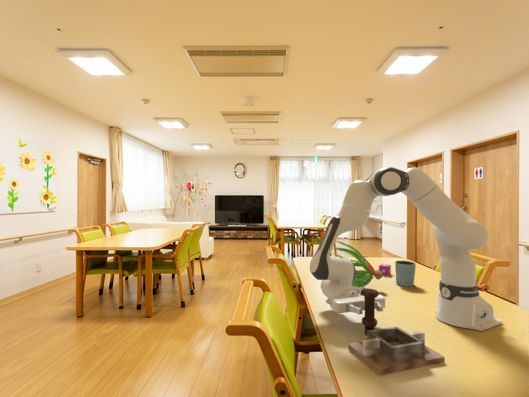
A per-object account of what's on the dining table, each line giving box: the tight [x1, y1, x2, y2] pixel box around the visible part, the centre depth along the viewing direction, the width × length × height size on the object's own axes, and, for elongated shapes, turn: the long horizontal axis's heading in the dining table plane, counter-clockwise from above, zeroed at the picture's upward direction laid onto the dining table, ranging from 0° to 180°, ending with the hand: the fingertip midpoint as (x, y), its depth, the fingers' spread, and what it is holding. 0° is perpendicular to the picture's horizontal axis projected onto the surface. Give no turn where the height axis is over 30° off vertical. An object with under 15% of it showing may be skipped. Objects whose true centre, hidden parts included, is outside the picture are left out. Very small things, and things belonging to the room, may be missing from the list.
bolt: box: [361, 287, 380, 337], centre depth 98 cm, size 6×5×15 cm
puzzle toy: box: [378, 263, 392, 277], centre depth 179 cm, size 6×6×6 cm
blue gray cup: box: [394, 260, 417, 288], centre depth 158 cm, size 10×10×12 cm
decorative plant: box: [331, 240, 384, 287], centre depth 152 cm, size 26×25×30 cm
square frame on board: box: [347, 326, 446, 376], centre depth 86 cm, size 22×14×6 cm, turn 107°
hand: (371, 310), depth 98 cm, fingers open, 7 cm apart
